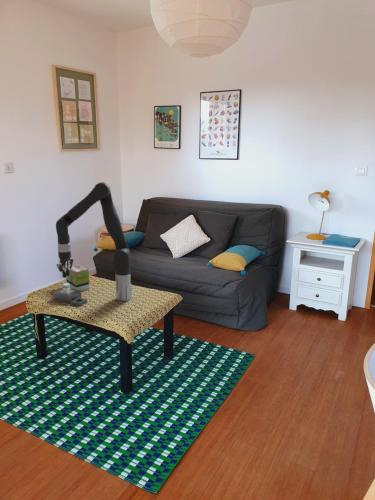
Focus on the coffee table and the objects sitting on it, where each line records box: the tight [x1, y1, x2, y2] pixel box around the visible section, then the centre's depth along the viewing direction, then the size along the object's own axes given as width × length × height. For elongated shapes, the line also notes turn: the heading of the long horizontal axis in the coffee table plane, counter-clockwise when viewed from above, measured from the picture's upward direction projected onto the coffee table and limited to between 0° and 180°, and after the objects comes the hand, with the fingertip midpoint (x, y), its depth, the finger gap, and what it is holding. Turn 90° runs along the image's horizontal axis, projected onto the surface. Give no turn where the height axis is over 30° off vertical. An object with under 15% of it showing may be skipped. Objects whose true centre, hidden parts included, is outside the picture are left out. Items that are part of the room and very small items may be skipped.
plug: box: [61, 282, 71, 293], centre depth 245 cm, size 3×3×9 cm
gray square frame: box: [70, 297, 88, 307], centre depth 240 cm, size 7×7×2 cm
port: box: [52, 287, 83, 304], centre depth 246 cm, size 14×10×5 cm
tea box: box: [65, 263, 90, 292], centre depth 264 cm, size 15×10×15 cm
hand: (66, 276), depth 242 cm, fingers open, 2 cm apart
